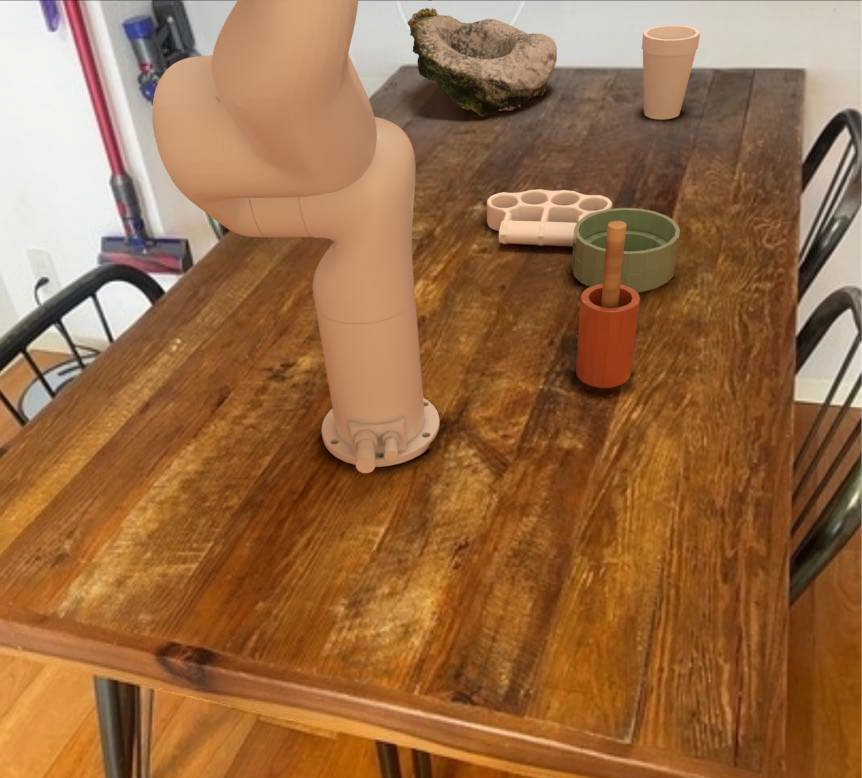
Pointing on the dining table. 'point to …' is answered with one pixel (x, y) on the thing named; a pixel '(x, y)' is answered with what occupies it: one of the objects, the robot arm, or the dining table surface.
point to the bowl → (627, 248)
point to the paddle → (613, 264)
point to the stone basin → (482, 60)
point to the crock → (606, 337)
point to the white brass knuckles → (541, 215)
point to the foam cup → (667, 68)
